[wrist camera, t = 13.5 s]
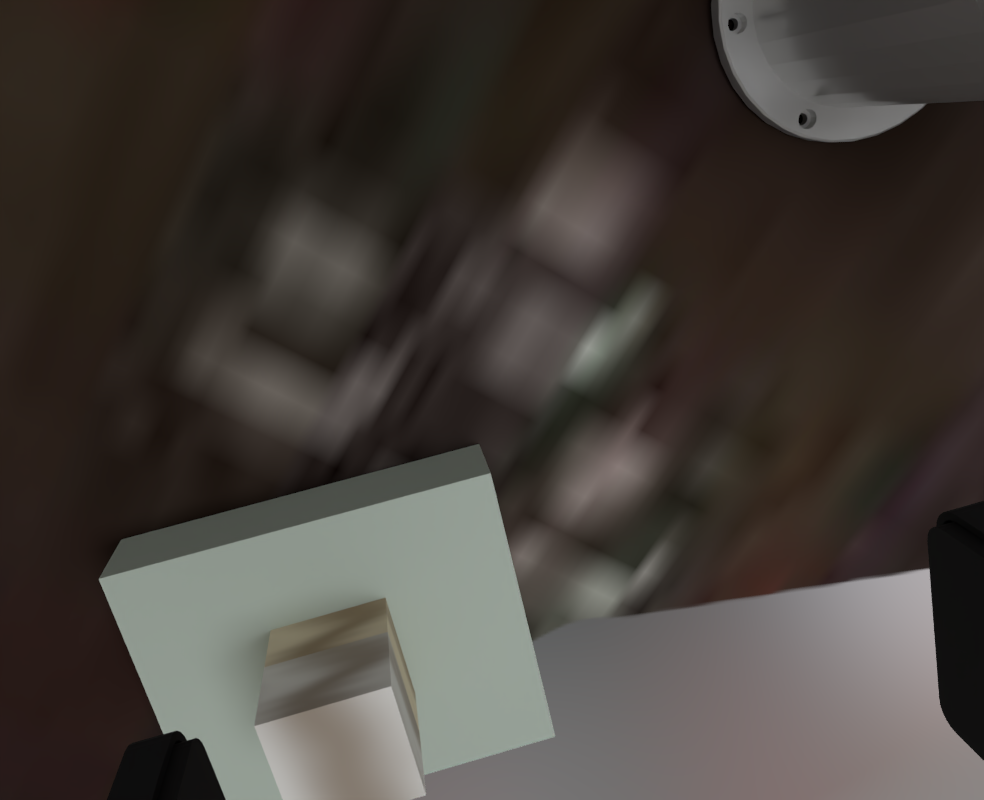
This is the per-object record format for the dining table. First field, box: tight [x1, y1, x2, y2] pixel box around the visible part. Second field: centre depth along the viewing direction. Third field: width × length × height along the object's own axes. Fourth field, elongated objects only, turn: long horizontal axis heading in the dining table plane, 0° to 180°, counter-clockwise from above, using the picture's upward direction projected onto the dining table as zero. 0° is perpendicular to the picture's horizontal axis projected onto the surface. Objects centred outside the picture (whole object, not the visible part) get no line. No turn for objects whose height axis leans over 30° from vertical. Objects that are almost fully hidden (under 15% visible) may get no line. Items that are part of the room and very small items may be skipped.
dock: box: [99, 444, 555, 800], centre depth 44 cm, size 18×15×4 cm
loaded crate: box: [254, 598, 426, 800], centre depth 39 cm, size 6×6×7 cm
